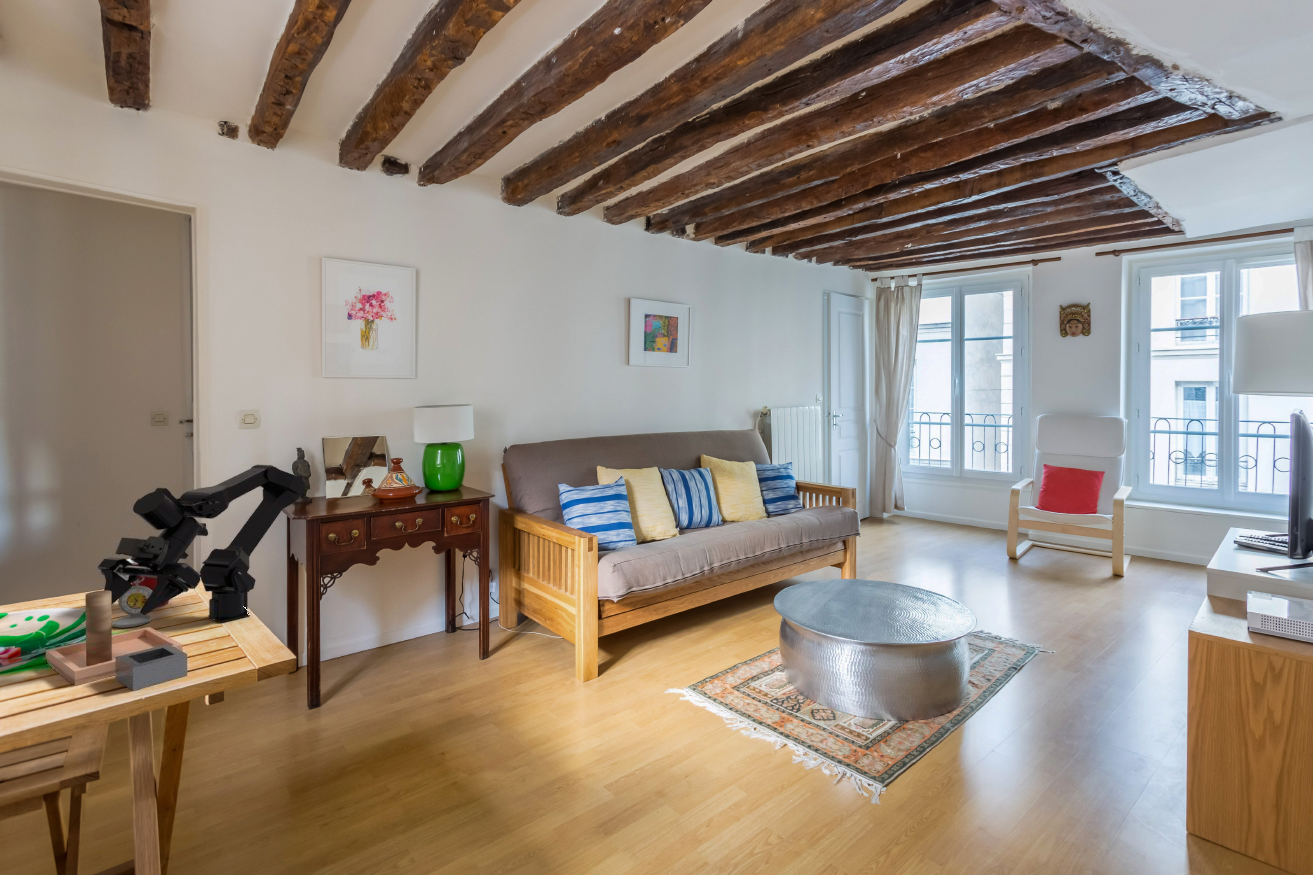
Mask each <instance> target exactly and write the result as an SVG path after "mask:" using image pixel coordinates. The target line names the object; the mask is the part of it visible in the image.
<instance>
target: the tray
mask: <svg viewBox="0 0 1313 875" xmlns="http://www.w3.org/2000/svg"><path fill="white" fill-rule="evenodd" d="M166 644H170V645H172V646H174V647H175V648H177V649H179V650H181V651H183V652H184V650H183V647H184V646H183V645H184V644H183V643H181V642H180V641H178V640H176V639H173V638H171V637H170V636H167V635H166V634H164V633H162V632H160V631H158V630H156V629H154V628H153V627H151V626H147V627H143V628H138V629H134V630H130V631H125V632H121V633H116V634H112V661H108V662H104V663H100V664H96V665H92V666H87V665H86V640H84V641H81V642H75V643H72V644H68V645H62V646H59V647H54V648H50V649H46V650H45V661H46V660H47V662H48V663H49V664H50V666H51V667H52V669H53V670H54V669H55V670H56V671H55V670H54V671H55V672H57V674H59V675H60V676H62V677H64V678H65V679H66V680H67V681H68V682H70V683H71V684H72V685H73V686H75V687H77V686H79V685H83V684H86V683H87V684H88V683H91V682H95V681H98V680H103V679H106V678H109V677H114V676H116V668H115V657H117V656H121V655H125V654H130V653H134V652H138V651H142V650H146V649H150V648H154V647H158V646H162V645H166ZM50 666H49V667H50ZM51 667H50V668H51Z"/></svg>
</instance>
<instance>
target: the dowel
mask: <svg viewBox="0 0 1313 875" xmlns="http://www.w3.org/2000/svg"><path fill="white" fill-rule="evenodd" d="M84 596H85V641H86V665H87V666H92V665H96V664H100V663H104V662H108V661H112V635H113V634H112V633H113V628H112V627H113V621H112V616H113V615H112V612H113V610H112V606H113V604H112V605H111V591H108V590H95V591H91V592H87V593H85V595H84Z"/></svg>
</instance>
